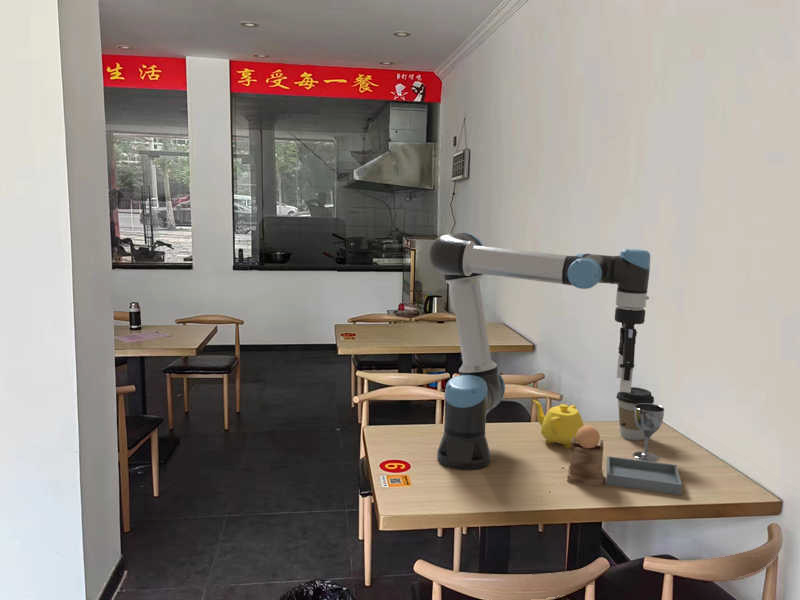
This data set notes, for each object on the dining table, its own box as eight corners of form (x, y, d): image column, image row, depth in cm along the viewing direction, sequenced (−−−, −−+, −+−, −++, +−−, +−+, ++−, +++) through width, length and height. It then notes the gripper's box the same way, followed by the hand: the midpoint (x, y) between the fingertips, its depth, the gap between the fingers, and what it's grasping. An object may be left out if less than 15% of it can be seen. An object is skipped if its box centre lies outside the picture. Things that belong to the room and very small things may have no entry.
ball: (575, 450, 164) (576, 428, 163) (576, 442, 170) (577, 421, 169) (598, 453, 162) (600, 431, 161) (599, 445, 168) (600, 424, 167)
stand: (567, 481, 165) (569, 443, 164) (568, 470, 172) (570, 434, 170) (602, 486, 162) (605, 448, 161) (602, 475, 169) (605, 439, 168)
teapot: (571, 432, 202) (573, 396, 200) (592, 448, 188) (595, 411, 186) (530, 434, 199) (532, 398, 198) (549, 451, 186) (551, 413, 184)
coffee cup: (607, 430, 204) (610, 386, 202) (640, 429, 205) (643, 385, 203) (623, 443, 193) (626, 396, 190) (658, 442, 194) (662, 396, 192)
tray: (606, 484, 164) (607, 474, 163) (606, 465, 176) (607, 456, 175) (681, 495, 158) (682, 484, 158) (675, 474, 170) (676, 465, 170)
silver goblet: (662, 463, 178) (666, 412, 176) (633, 460, 180) (637, 410, 178) (657, 452, 186) (661, 404, 184) (629, 450, 188) (632, 402, 185)
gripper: (650, 316, 152) (642, 399, 156) (641, 301, 176) (634, 374, 180) (618, 314, 154) (610, 396, 158) (613, 299, 178) (606, 371, 182)
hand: (623, 384), depth 169 cm, fingers open, 13 cm apart
